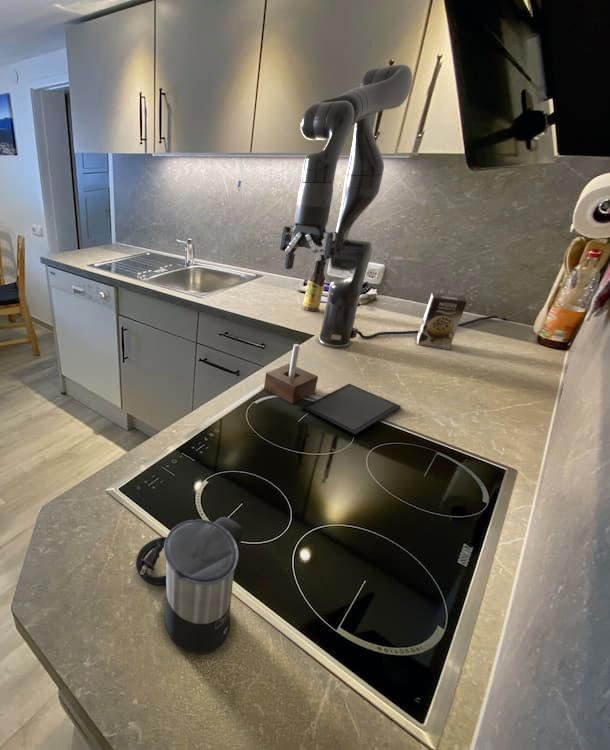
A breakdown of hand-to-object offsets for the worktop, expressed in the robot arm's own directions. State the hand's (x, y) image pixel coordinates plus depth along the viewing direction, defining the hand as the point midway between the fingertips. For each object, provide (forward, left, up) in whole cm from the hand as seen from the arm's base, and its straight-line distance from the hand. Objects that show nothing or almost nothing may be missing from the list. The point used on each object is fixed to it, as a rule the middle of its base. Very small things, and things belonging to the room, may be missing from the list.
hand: (302, 271), depth 105 cm
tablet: (+1, +21, -30) cm, 37 cm away
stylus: (+6, +6, -30) cm, 31 cm away
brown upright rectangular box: (-57, +14, -30) cm, 66 cm away
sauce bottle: (-54, -31, -30) cm, 69 cm away
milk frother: (+67, +35, -30) cm, 81 cm away
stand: (+6, +6, -30) cm, 31 cm away
